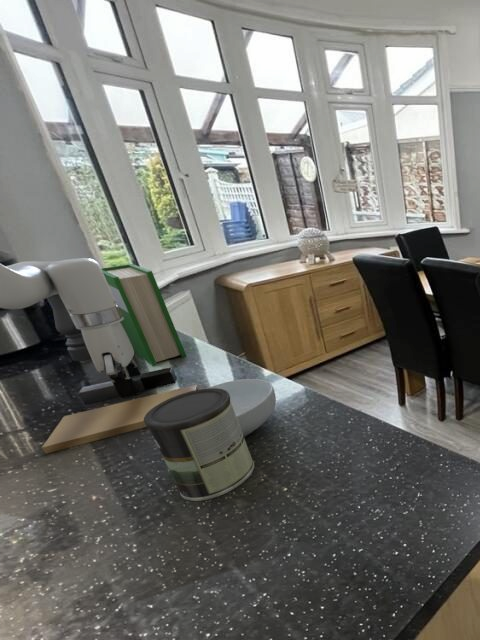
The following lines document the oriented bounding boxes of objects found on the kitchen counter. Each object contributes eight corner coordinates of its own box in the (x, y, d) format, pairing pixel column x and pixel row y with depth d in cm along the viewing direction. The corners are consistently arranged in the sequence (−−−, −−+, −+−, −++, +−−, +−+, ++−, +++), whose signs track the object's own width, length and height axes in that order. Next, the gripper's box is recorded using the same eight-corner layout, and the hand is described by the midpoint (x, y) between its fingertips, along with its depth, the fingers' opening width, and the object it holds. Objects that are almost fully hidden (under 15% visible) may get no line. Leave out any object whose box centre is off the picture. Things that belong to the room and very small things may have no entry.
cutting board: (45, 454, 71) (41, 447, 71) (67, 422, 81) (63, 416, 80) (194, 414, 82) (191, 408, 82) (198, 390, 91) (196, 384, 91)
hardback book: (186, 356, 109) (151, 271, 99) (153, 366, 104) (112, 277, 94) (165, 342, 119) (131, 263, 109) (133, 351, 113) (95, 269, 103)
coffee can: (170, 510, 58) (130, 433, 53) (190, 467, 67) (158, 396, 61) (249, 489, 62) (220, 414, 56) (259, 450, 71) (235, 382, 65)
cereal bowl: (234, 403, 86) (223, 375, 83) (300, 410, 82) (292, 381, 79) (155, 454, 70) (139, 422, 68) (233, 465, 67) (219, 431, 64)
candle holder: (66, 360, 109) (18, 271, 99) (91, 351, 114) (48, 266, 104) (84, 361, 108) (37, 271, 98) (109, 352, 113) (67, 266, 103)
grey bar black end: (84, 404, 87) (77, 392, 86) (89, 398, 89) (82, 386, 88) (175, 383, 95) (170, 371, 93) (177, 378, 97) (172, 366, 96)
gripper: (85, 310, 89) (120, 379, 97) (59, 333, 76) (101, 411, 83) (129, 303, 93) (158, 371, 100) (111, 324, 80) (147, 400, 87)
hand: (132, 388), depth 92 cm, fingers open, 5 cm apart
